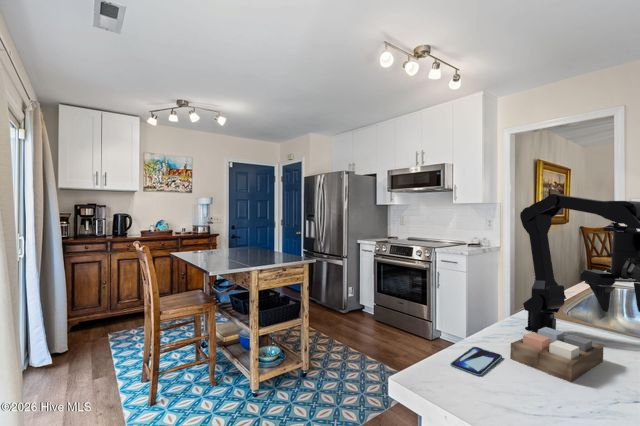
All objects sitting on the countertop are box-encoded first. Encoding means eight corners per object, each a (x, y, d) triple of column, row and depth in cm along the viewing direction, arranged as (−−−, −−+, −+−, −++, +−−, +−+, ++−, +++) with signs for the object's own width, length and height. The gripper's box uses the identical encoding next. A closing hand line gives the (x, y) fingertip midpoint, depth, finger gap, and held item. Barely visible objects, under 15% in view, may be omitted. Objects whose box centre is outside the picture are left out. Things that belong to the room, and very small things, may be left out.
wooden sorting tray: (510, 358, 82) (510, 343, 82) (545, 343, 93) (545, 329, 93) (571, 382, 71) (571, 364, 71) (603, 362, 82) (603, 346, 82)
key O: (563, 349, 82) (564, 337, 82) (570, 345, 85) (571, 334, 85) (584, 356, 79) (585, 343, 79) (591, 352, 81) (592, 340, 81)
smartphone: (448, 364, 78) (473, 345, 88) (448, 367, 78) (473, 349, 88) (480, 376, 73) (503, 355, 83) (480, 380, 73) (503, 358, 83)
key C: (537, 340, 87) (538, 329, 87) (545, 337, 90) (545, 326, 90) (556, 346, 84) (556, 335, 84) (563, 343, 86) (564, 332, 86)
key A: (549, 356, 78) (549, 344, 78) (557, 352, 80) (557, 340, 80) (570, 363, 74) (571, 351, 74) (578, 359, 77) (579, 347, 77)
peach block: (522, 347, 83) (523, 335, 83) (531, 343, 85) (531, 332, 85) (541, 353, 79) (542, 341, 79) (549, 349, 82) (550, 338, 82)
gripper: (620, 255, 73) (616, 323, 74) (701, 257, 73) (696, 325, 74) (580, 247, 84) (576, 307, 85) (651, 250, 84) (647, 309, 85)
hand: (623, 312), depth 82 cm, fingers open, 9 cm apart
